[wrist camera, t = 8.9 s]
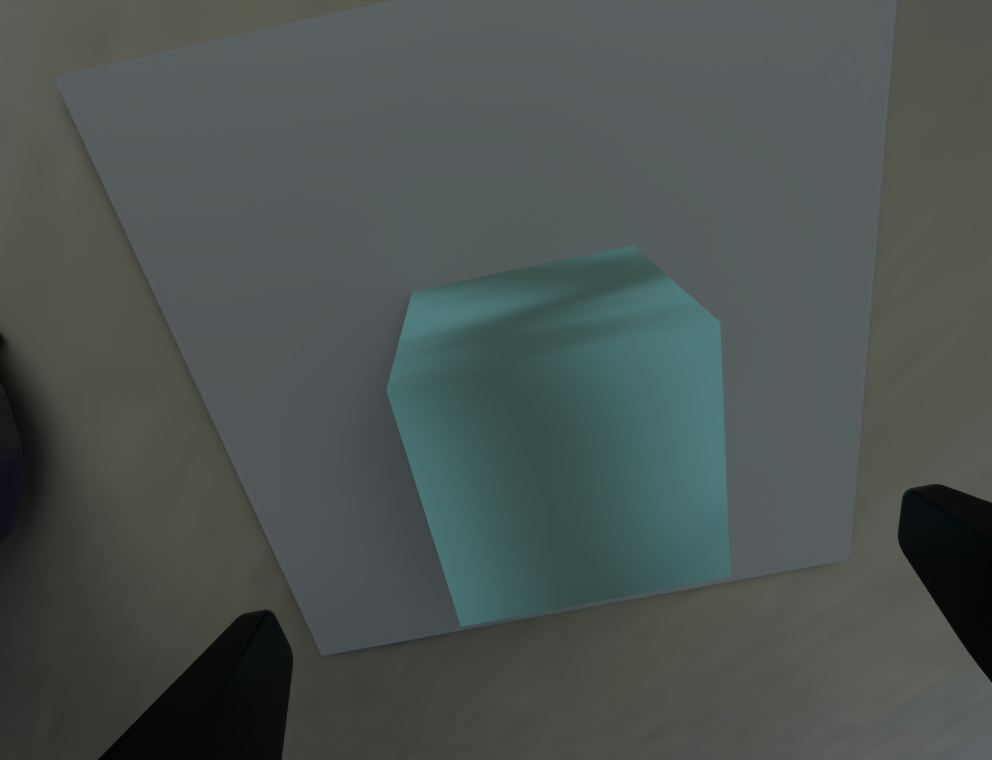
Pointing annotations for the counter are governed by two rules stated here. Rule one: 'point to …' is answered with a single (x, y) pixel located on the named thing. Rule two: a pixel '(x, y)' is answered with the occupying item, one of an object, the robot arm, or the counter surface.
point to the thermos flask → (9, 467)
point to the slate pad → (501, 243)
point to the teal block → (565, 433)
